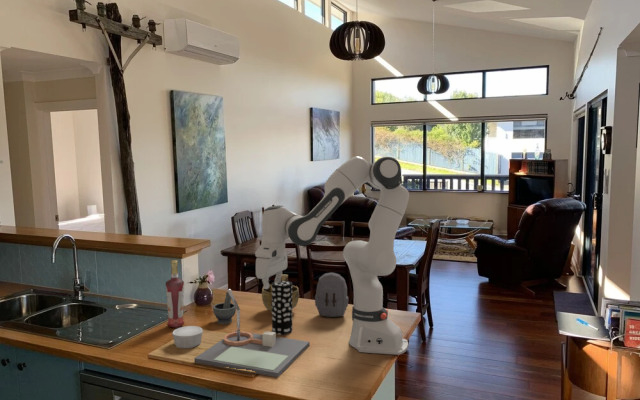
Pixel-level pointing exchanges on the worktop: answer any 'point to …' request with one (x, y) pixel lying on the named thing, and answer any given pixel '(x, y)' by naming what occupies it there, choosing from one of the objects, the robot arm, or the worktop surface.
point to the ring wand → (252, 339)
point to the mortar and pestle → (224, 310)
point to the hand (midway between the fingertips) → (272, 285)
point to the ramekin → (187, 336)
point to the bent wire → (237, 313)
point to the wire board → (254, 355)
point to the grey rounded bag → (331, 295)
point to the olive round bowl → (268, 294)
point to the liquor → (175, 298)
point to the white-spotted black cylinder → (282, 307)
